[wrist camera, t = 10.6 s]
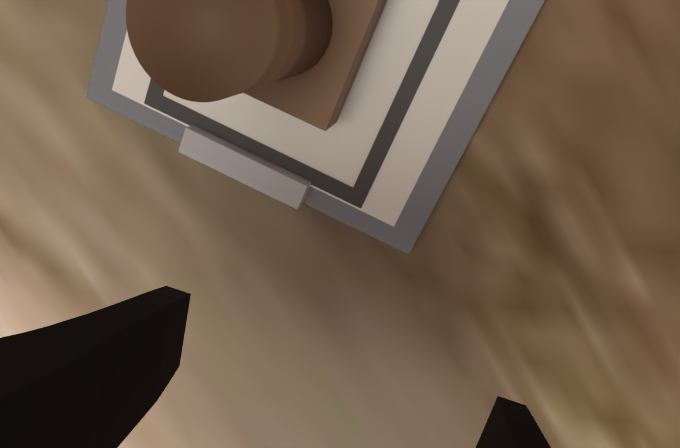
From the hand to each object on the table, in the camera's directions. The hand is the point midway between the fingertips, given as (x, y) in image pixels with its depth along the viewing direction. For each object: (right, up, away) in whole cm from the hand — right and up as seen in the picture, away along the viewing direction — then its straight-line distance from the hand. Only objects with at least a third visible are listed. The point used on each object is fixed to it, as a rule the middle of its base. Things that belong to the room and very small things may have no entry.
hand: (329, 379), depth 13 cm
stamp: (-1, +10, +7) cm, 12 cm away
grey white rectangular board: (-1, +10, +8) cm, 13 cm away
